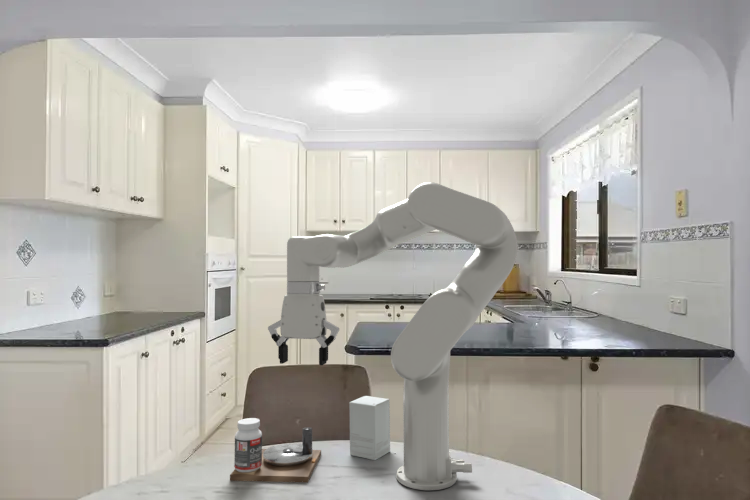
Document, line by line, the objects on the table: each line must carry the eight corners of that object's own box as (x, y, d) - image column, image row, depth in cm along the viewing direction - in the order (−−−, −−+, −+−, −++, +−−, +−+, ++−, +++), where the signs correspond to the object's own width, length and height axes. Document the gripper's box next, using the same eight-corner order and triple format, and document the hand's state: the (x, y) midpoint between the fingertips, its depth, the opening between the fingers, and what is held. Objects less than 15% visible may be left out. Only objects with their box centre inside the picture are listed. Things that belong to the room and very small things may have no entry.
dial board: (321, 455, 119) (321, 448, 120) (307, 482, 104) (307, 474, 104) (253, 453, 121) (253, 446, 121) (229, 480, 105) (229, 472, 105)
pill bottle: (254, 474, 104) (254, 425, 105) (229, 472, 106) (229, 424, 106) (266, 463, 110) (266, 417, 110) (242, 461, 111) (242, 416, 112)
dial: (303, 467, 107) (303, 437, 108) (254, 463, 110) (254, 433, 110) (319, 449, 118) (319, 421, 118) (275, 446, 121) (275, 419, 121)
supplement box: (391, 451, 122) (390, 398, 122) (374, 461, 116) (374, 405, 116) (365, 445, 126) (365, 394, 126) (348, 455, 119) (348, 401, 120)
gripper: (343, 289, 119) (343, 362, 118) (275, 288, 123) (275, 359, 122) (333, 290, 112) (333, 368, 111) (261, 289, 116) (261, 364, 115)
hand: (303, 363), depth 117 cm, fingers open, 9 cm apart
